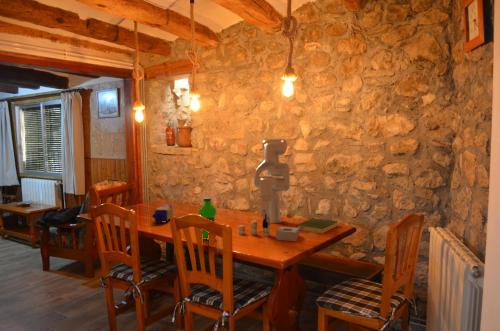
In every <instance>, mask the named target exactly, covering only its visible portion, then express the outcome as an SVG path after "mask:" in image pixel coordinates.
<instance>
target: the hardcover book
mask: <svg viewBox="0 0 500 331" xmlns="http://www.w3.org/2000/svg"><path fill="white" fill-rule="evenodd" d="M336 226H337V227H338V226H339V221H337V220H331V219H322V218H317V217H315V218H314V217H312V218H310V219H308V220H306V221H303V222H301V223H297V224H296V228H299V231H304V232H309V233H318V234H325V233H327V232H329V231H331V230H333V229H335V228H336ZM334 227H335V228H334ZM332 228H333V229H332ZM330 229H331V230H330ZM328 230H329V231H328ZM326 231H327V232H326ZM324 232H325V233H324Z"/></svg>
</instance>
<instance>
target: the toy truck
mask: <svg viewBox="0 0 500 331" xmlns="http://www.w3.org/2000/svg"><path fill="white" fill-rule="evenodd" d="M173 216H174V207H173V204H172V205H171V204H167V205H166V204H162V205H160V206H158V207H157V208H155V209H154V213H153V214H152V218H153V219H154V222H155V223H156V224H157V223H160V224H162V223H161V222H162V221H168V220H169V219H170V217H172V218H173ZM170 220H171V219H170ZM170 220H169V221H170ZM169 221H168V222H169Z"/></svg>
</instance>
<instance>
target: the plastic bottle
mask: <svg viewBox="0 0 500 331" xmlns="http://www.w3.org/2000/svg"><path fill="white" fill-rule="evenodd" d="M203 202H204V204H202V206H201V207H200V208H199V209H198V215H201V216H203V217H205V218H207V219H209V220H212V221H214V222H215V216H216V215H217V208H216V207H215V206H214V205H213V204H211V202H212V197H204V198H203ZM202 234H203V238H206V239H207V238H208V235H209V233H208V232H207V231H205V230H202ZM203 238H202V239H203Z"/></svg>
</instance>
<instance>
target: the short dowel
mask: <svg viewBox="0 0 500 331" xmlns="http://www.w3.org/2000/svg"><path fill="white" fill-rule="evenodd" d="M245 234H246V226H245V225H243V224H242V225H241V224H240V225H238V235H242V236H243V235H245Z"/></svg>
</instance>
